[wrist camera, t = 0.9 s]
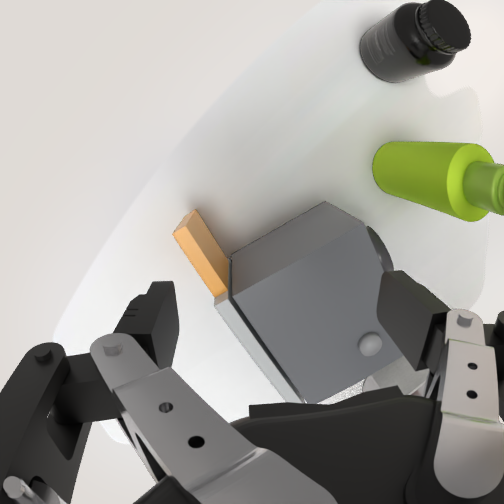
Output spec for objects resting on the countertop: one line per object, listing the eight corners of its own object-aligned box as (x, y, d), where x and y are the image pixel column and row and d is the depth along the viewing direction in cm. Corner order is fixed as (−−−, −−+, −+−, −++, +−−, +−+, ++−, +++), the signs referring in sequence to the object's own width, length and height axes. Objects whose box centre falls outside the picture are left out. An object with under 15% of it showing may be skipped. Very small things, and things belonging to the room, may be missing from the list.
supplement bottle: (404, 94, 28) (474, 78, 17) (351, 65, 27) (407, 30, 16) (417, 47, 27) (482, 20, 15) (366, 18, 26) (421, -26, 14)
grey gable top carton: (356, 349, 38) (385, 400, 28) (396, 314, 37) (436, 359, 27) (369, 363, 39) (398, 413, 29) (408, 330, 38) (446, 374, 28)
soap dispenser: (361, 192, 32) (498, 248, 13) (382, 132, 30) (531, 131, 11) (403, 211, 32) (540, 276, 13) (423, 155, 31) (569, 178, 12)
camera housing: (384, 297, 36) (428, 345, 25) (292, 349, 37) (311, 412, 27) (338, 193, 31) (385, 214, 21) (231, 254, 33) (232, 301, 22)
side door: (292, 356, 37) (308, 411, 28) (284, 360, 37) (297, 416, 28) (196, 207, 31) (182, 230, 21) (186, 213, 31) (168, 239, 22)
